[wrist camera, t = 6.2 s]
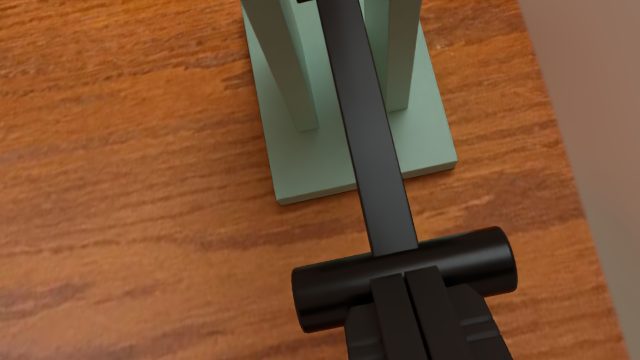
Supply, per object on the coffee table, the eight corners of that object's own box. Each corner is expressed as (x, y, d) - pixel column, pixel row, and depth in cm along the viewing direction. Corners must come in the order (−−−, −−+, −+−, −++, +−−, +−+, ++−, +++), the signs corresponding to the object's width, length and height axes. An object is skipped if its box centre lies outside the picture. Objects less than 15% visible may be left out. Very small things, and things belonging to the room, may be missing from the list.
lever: (505, 294, 14) (529, 288, 12) (310, 333, 14) (296, 335, 12) (394, -100, 17) (396, -166, 15) (238, -62, 18) (216, -121, 15)
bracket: (454, 168, 25) (527, 18, 13) (280, 205, 25) (186, 96, 13) (403, -23, 28) (421, -302, 15) (246, 14, 28) (139, -229, 16)
